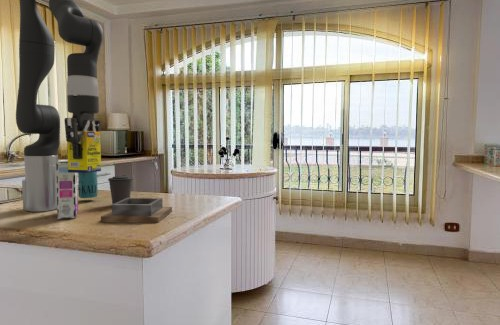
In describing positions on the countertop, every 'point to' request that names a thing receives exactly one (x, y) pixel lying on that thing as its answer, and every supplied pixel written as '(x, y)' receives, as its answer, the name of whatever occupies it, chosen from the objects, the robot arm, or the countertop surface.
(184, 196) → the countertop surface
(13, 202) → the countertop surface
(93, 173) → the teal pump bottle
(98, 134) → the supplement box
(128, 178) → the coffee cup
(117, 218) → the caddy
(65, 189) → the candy bar box
